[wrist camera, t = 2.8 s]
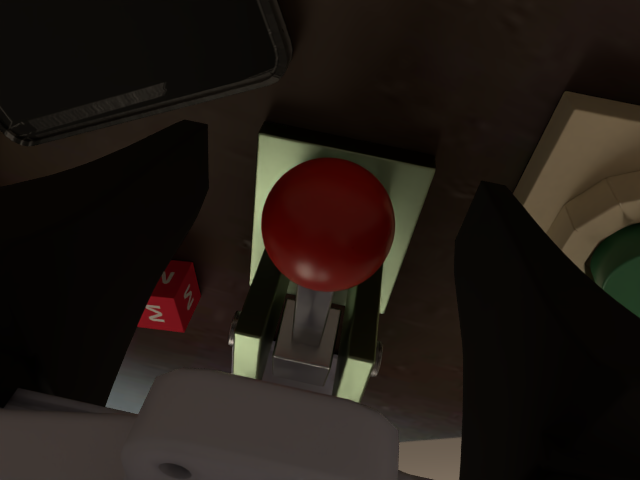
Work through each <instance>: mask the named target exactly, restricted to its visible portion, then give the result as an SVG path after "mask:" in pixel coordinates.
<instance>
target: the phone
mask: <svg viewBox="0 0 640 480" xmlns="http://www.w3.org/2000/svg"><path fill="white" fill-rule="evenodd" d="M292 53H293V47H292V42H291V38H290V35H289V32H288V29H287V26H286V23H285V20H284V17H283V14H282V11H281V8H280V5H279V2H278V0H0V130H1V132H2V133H3V134H4V135H5V136H6V137H8V138H9V139H11V140H12V141H14V142H16V143H18V144H20V145H24V146H35V145H38V144H42V143H46V142H50V141H54V140H58V139H62V138H66V137H70V136H74V135H77V134H81V133H85V132H89V131H93V130H97V129H101V128H105V127H109V126H113V125H116V124H120V123H124V122H128V121H132V120H136V119H140V118H144V117H148V116H152V115H155V114H159V113H163V112H167V111H171V110H175V109H179V108H183V107H187V106H191V105H195V104H198V103H202V102H206V101H210V100H214V99H218V98H222V97H226V96H230V95H234V94H237V93H241V92H245V91H249V90H253V89H257V88H261V87H265V86H269V85H271V84H273V83H276V82H277V81H278V80H279V79H280V78H281V77H282V76H283V75H284V73H285V71H286V69H287V67H288V65H289V63H290V61H291V59H292Z"/></svg>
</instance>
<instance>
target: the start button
mask: <svg viewBox="0 0 640 480" xmlns="http://www.w3.org/2000/svg"><path fill="white" fill-rule="evenodd" d="M590 268H591V273H592V275H593V278H594V280H595V283H596V284H597V285H598V286H599V287H601V288H602V289H603V290H604V291H605V292H606V293H608V294H609V295H610V296H611V297H613V298H614V299H615V300H616V301H618V302H619V303H620V304H622V305H623V306H624V307H626V308H627V309H628V310H630V311H631V312H632V313H634V314H635V315H636V316H638V317H639V318H640V223H637V224H633V225H630V226H627V227H625V228H622V229H620V230H618V231H617V232H615V233H613V234H611V235H610V236H609V237H607V238H606V239H605V240H604V241H603V242H601V243H600V245H599V246H598V247H597V248H596V250H595V251H594V253H593V256H592V258H591V263H590Z"/></svg>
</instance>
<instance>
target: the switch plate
mask: <svg viewBox="0 0 640 480" xmlns="http://www.w3.org/2000/svg"><path fill="white" fill-rule="evenodd" d="M513 195H514V196H515V197H516V198H517V199H518V201H519V202H520V203H521V204H522V205H523V207H524V208H525V209H526V210H527V212H528V213H529V214H530V215H531V216H532V218H533V219H534V220H535V221H536V222H537V224H538V225H539V226H540V227H541V228H542V229H543V231H544V232H545V233H546V234H547V235H548V236H549V237H550V239H551V240H552V241H553V242H554V243H555V244H556V245H557V246H558V247H559V248H560V249H561V250H562V252H563V253H564V254H565V255H566V256H567V257H568V258H569V259H570V260H571V261H572V262H573V263H574V264H575V265H576V266H577V267H578V268H579V269H580V270H581V271H583V272H584V273H585V274H586V275H587V276H588V277H589V278H590V279H591V280H593V281H594V282H595V280H594V278H593V275H592V273H591V268H590V263H591V258H592V256H593V253H594V251H595V250H596V248H597V247H598V246H599V245H600V243H601V242H603V241H604V240H605V239H606V238H607V237H609V236H610V235H611V234H613V233H615V232H617V231H618V230H620V229H622V228H625V227H627V226H630V225H633V224H637V223H640V106H638V105H633V104H628V103H623V102H618V101H613V100H608V99H603V98H598V97H593V96H588V95H583V94H578V93H574V92H569V91H565V92H564V93H563V95H562V97H561V99H560V101H559V103H558V105H557V107H556V109H555V111H554V113H553V115H552V117H551V119H550V121H549V123H548V125H547V127H546V129H545V131H544V133H543V135H542V137H541V139H540V141H539V143H538V145H537V147H536V149H535V151H534V153H533V155H532V157H531V159H530V161H529V163H528V165H527V167H526V169H525V171H524V173H523V175H522V177H521V179H520V181H519V183H518V185H517V187H516V189H515V191H514V193H513Z"/></svg>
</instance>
